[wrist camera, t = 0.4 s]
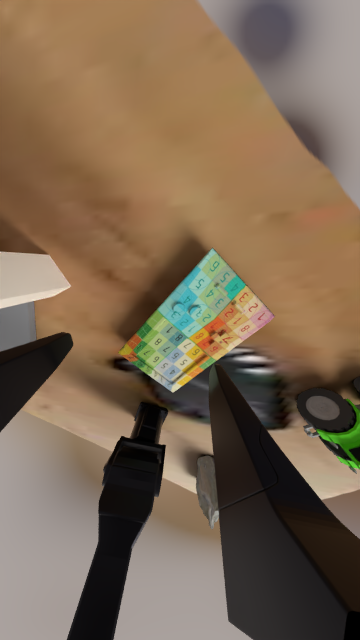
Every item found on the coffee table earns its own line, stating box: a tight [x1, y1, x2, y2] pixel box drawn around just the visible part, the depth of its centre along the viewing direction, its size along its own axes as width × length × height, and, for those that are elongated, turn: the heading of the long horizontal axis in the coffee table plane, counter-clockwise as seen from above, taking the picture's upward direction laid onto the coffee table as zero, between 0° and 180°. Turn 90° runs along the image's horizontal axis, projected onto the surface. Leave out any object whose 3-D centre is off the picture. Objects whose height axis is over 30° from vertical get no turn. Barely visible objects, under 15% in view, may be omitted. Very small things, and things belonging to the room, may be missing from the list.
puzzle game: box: [118, 248, 275, 392], centre depth 21 cm, size 12×5×20 cm
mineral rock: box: [196, 455, 219, 529], centre depth 34 cm, size 13×11×10 cm
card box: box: [0, 252, 71, 309], centre depth 16 cm, size 5×4×12 cm
